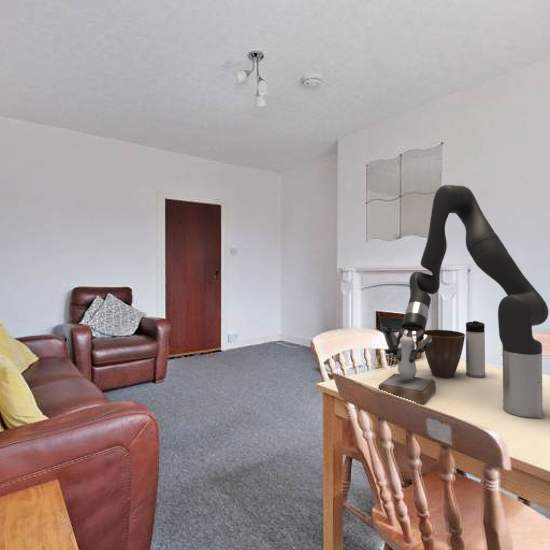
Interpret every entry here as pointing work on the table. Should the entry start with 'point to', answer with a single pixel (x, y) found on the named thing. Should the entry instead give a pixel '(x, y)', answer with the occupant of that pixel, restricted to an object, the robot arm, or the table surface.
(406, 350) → the salt shaker
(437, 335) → the plant pot
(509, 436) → the table surface
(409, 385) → the plinth
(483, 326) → the travel mug
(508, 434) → the table surface
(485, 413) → the table surface
